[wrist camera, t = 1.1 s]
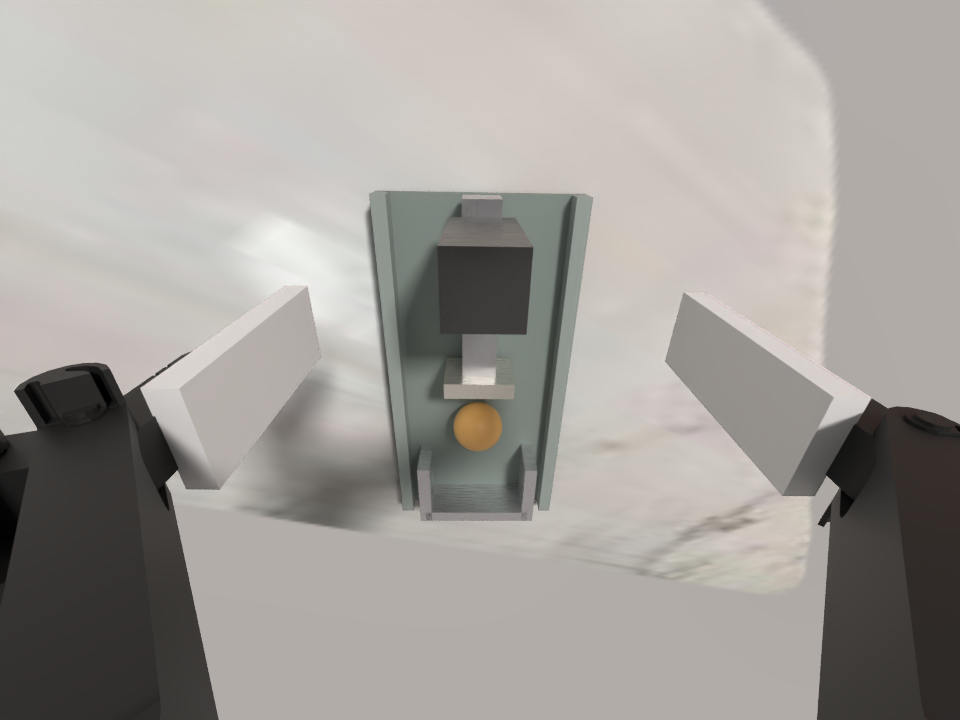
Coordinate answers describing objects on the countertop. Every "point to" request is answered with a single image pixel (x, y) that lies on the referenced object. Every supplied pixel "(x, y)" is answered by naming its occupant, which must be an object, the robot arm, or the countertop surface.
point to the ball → (477, 426)
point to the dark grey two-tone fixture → (482, 295)
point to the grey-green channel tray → (424, 351)
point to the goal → (477, 493)
